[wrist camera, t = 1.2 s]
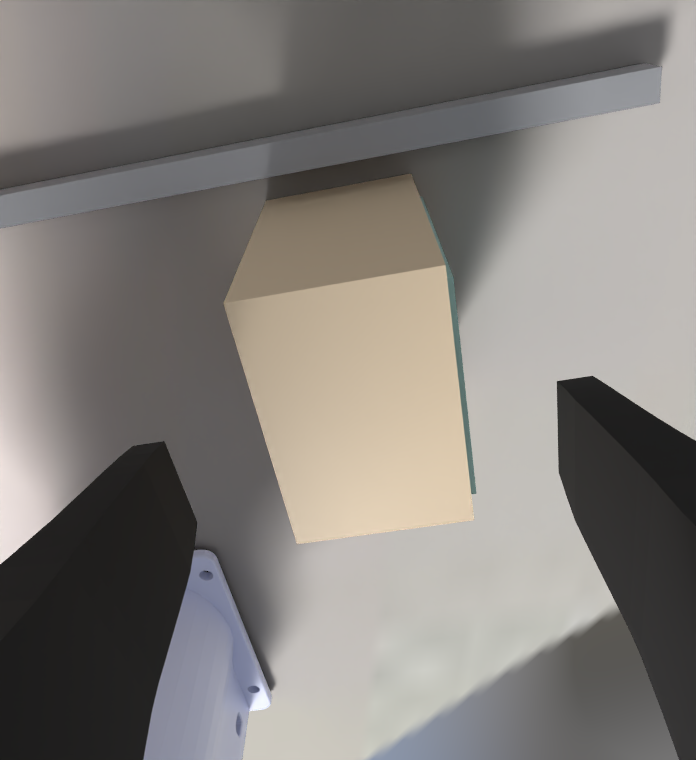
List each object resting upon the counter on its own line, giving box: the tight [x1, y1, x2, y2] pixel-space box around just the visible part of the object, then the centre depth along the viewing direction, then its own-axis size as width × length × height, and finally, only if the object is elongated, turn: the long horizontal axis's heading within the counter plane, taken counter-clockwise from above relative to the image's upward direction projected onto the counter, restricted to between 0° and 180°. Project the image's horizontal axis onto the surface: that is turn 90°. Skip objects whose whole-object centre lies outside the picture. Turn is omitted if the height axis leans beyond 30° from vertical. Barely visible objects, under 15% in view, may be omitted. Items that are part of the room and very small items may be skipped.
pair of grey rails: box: [0, 63, 662, 228], centre depth 14 cm, size 8×26×2 cm, turn 100°
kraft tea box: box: [223, 174, 476, 544], centre depth 16 cm, size 4×6×7 cm
